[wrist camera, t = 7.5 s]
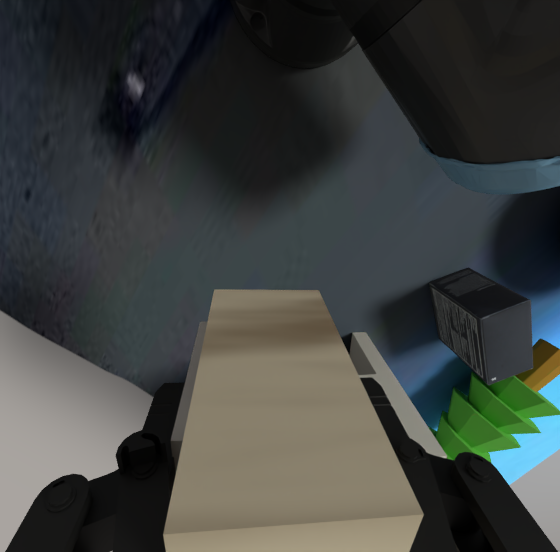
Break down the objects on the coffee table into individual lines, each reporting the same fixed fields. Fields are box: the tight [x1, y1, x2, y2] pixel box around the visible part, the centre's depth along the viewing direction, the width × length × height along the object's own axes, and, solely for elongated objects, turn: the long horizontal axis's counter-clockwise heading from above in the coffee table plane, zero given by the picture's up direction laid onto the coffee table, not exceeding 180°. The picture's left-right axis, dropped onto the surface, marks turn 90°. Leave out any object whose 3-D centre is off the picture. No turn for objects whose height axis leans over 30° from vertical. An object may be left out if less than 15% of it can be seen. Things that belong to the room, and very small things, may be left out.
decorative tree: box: [428, 339, 560, 462], centre depth 49 cm, size 11×12×30 cm
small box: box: [429, 268, 533, 385], centre depth 41 cm, size 11×6×10 cm, turn 20°
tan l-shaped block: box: [163, 290, 424, 552], centre depth 15 cm, size 21×5×10 cm, turn 177°
